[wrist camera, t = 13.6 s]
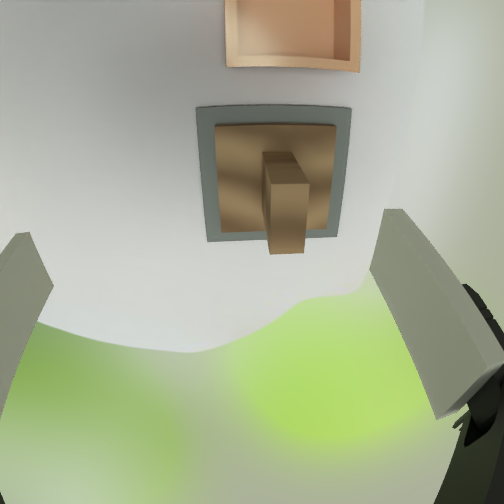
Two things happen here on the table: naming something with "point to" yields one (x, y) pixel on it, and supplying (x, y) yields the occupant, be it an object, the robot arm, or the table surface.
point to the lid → (275, 180)
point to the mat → (268, 114)
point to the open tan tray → (294, 33)
